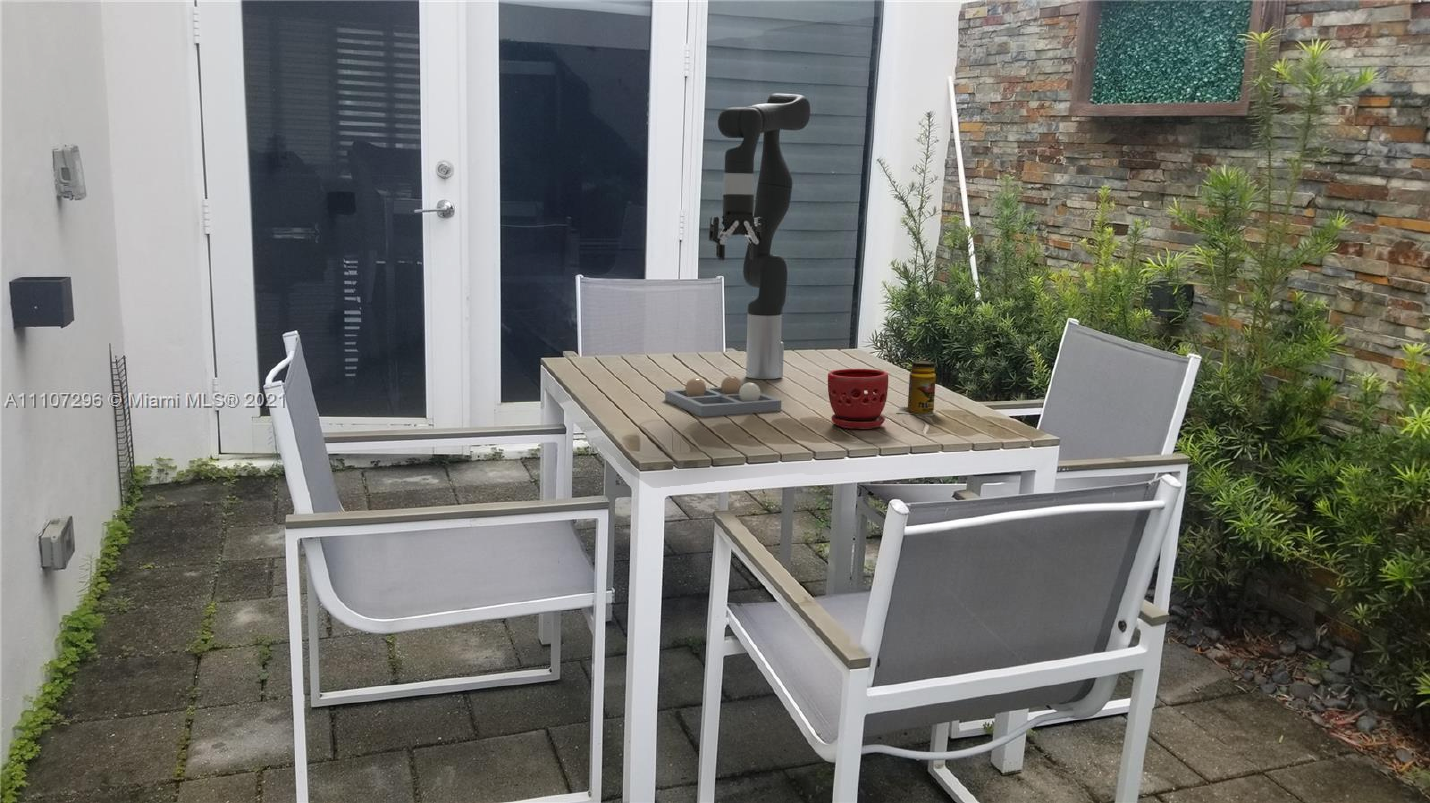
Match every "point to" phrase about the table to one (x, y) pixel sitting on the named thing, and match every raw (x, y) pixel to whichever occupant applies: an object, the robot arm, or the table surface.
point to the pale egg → (749, 392)
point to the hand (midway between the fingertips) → (736, 259)
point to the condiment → (921, 389)
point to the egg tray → (720, 403)
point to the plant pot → (858, 397)
